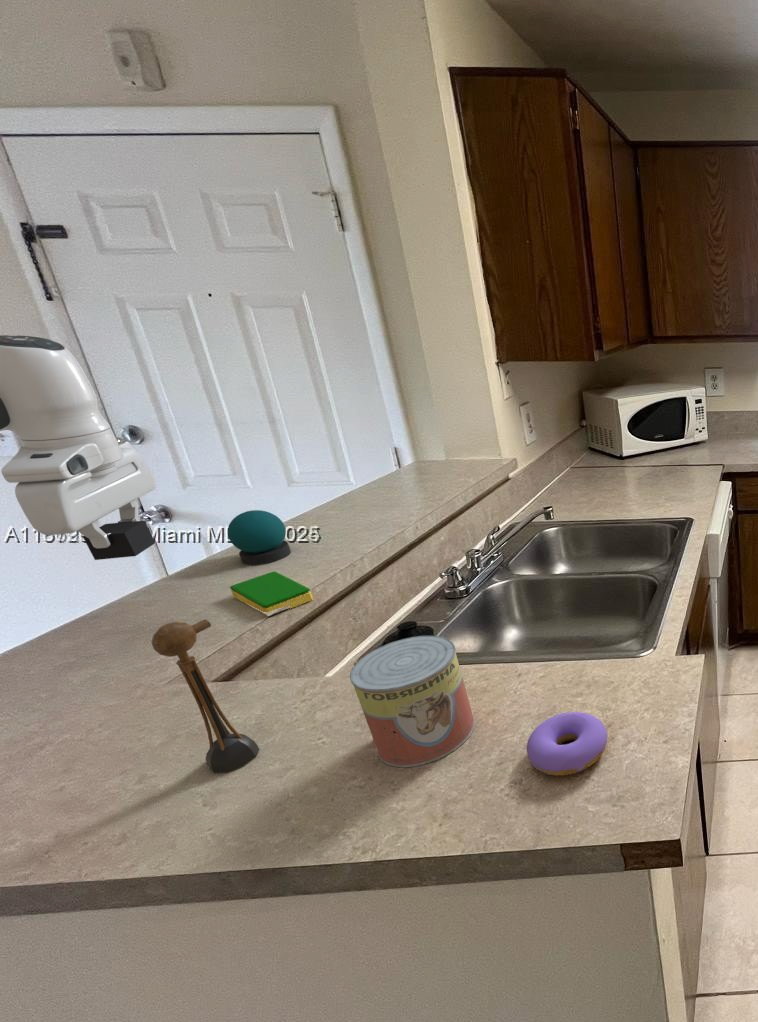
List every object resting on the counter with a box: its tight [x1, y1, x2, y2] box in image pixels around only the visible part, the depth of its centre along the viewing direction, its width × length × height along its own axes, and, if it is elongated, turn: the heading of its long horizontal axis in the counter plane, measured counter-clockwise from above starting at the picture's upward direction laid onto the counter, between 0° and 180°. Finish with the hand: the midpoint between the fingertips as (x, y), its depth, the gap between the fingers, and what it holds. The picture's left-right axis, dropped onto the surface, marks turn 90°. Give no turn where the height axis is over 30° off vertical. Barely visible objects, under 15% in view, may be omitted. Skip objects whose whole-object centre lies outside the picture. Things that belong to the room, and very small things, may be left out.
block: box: [82, 520, 156, 561], centre depth 95 cm, size 5×5×4 cm
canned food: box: [349, 635, 476, 768], centre depth 78 cm, size 11×11×12 cm
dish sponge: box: [229, 571, 314, 612], centre depth 112 cm, size 7×14×2 cm, turn 60°
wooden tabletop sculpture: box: [150, 619, 260, 774], centre depth 73 cm, size 6×5×20 cm
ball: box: [227, 509, 292, 566], centre depth 126 cm, size 9×9×10 cm
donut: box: [526, 711, 608, 776], centre depth 77 cm, size 10×9×5 cm
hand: (119, 537), depth 95 cm, fingers closed on block, 5 cm apart
